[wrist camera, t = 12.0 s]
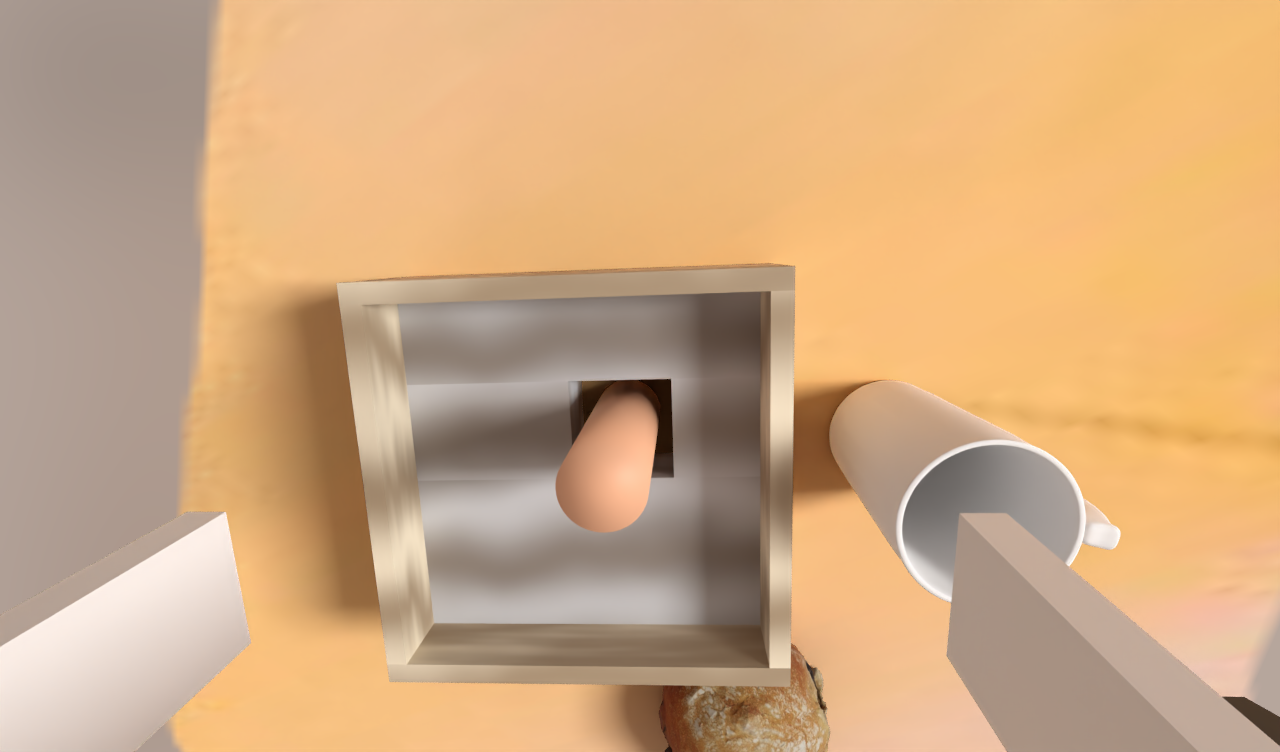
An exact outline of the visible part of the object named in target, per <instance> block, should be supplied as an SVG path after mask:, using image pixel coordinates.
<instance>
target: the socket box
mask: <svg viewBox="0 0 1280 752" xmlns="http://www.w3.org/2000/svg"><path fill="white" fill-rule="evenodd" d="M337 291H338V298H339V306H340V313H341V321H342V328H343V336H344V343H345V351H346V358H347V366H348V373H349V381H350V388H351V396H352V403H353V411H354V418H355V426H356V433H357V441H358V448H359V456H360V463H361V471H362V478H363V486H364V493H365V501H366V508H367V516H368V523H369V531H370V538H371V546H372V553H373V561H374V568H375V576H376V583H377V591H378V599H379V606H380V614H381V621H382V629H383V636H384V644H385V651H386V659H387V666H388V674H389V681H390V682H439V683H521V684H602V685H683V686H765V687H790V680H791V591H792V503H793V414H794V325H795V266H788V265H780V264H771V263H766V264H739V265H712V266H686V267H659V268H632V269H605V270H578V271H551V272H524V273H497V274H470V275H443V276H416V277H401V278H390V279H378V280H366V281H355V282H343V283H337ZM640 379H671V390H672V425H673V453H655V454H654V461H653V468H652V475H651V482H650V489H649V496H648V501H647V504H646V506H645V508H644V511H643V512H642V514H641V515H640V516H639V517H638V519H637V520H636V521H634V522H633V523H632V524H630V525H629V526H627V527H625V528H623V529H621V530H618V531H614V532H606V533H602V532H594V531H590V530H587V529H584V528H582V527H580V526H578V525H577V524H575V523H574V522H573V521H571V520H570V519H569V518H568V517H567V516H566V514H565V513H564V512H563V510H562V508H561V507H560V505H559V502H558V500H557V496H556V490H555V483H556V477H557V473H558V471H559V468H560V466H561V465H562V463H563V461H564V459H565V458H566V456H567V454H568V452H569V451H570V449H571V447H572V445H573V444H574V442H575V440H576V439H577V437H578V435H579V433H580V432H581V430H582V428H583V426H584V413H583V396H582V381H598V380H640Z"/></svg>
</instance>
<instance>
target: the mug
mask: <svg viewBox="0 0 1280 752" xmlns="http://www.w3.org/2000/svg"><path fill="white" fill-rule="evenodd" d="M829 441H830V448H831V451H832V454H833V457H834V459H835V461H836V462H837V464H838V466H839V467H840V469H841V470H842V472H843V474H844V475H845V477H846V479H847V480H848V482H849V484H850V485H851V486H852V488H853V489H854V491H855V492H856V494H857V495H858V497H859V498H860V500H861V501H862V503H863V504H864V506H865V508H866V509H867V511H868V512H869V514H870V515H871V517H872V518H873V520H874V521H875V523H876V524H877V526H878V527H879V529H880V530H881V532H882V534H883V535H884V537H885V538H886V540H887V541H888V543H889V544H890V546H891V547H892V549H893V550H894V551H895V553H896V554H897V555H898V557H899V558H900V559H901V560H902V562H903V564H904V565H905V567H906V569H907V570H908V572H909V573H910V574H911V576H912V577H913V578H914V579H915V580H916V581H917V582H918V583H919V584H920V585H921V586H922V587H923V588H924V589H926V590H927V591H928V592H930V593H931V594H933V595H935V596H936V597H938V598H940V599H942V600H945V601H947V602H950V603H951V601H952V589H953V578H954V567H955V556H956V545H957V533H958V522H959V513H1007V514H1008V515H1009V516H1010V517H1011V518H1013V519H1014V520H1015V521H1016V522H1017V523H1018V524H1020V525H1021V526H1022V527H1023V528H1024V529H1026V530H1027V531H1028V532H1029V533H1030V534H1031V535H1033V536H1034V537H1035V538H1036V539H1037V540H1038V541H1040V542H1041V543H1042V544H1043V545H1044V546H1045V547H1047V548H1048V549H1049V550H1050V551H1051V552H1053V553H1054V554H1055V555H1056V556H1057V557H1058V558H1060V559H1061V560H1062V561H1063V562H1064V563H1065V564H1067V565H1068V566H1070V564H1071V563H1072V562H1073V560H1074V558H1075V557H1076V555H1077V553H1078V551H1079V549H1080V546H1081V544H1082V543H1084V544H1087V545H1090V546H1094V547H1099V548H1103V549H1107V550H1111V549H1114V548H1115V547H1116V545H1117V544H1118V541H1119V538H1120V530H1119V529H1118V528H1117V527H1116V526H1114V525H1112V524H1111V523H1110V522H1109V520H1108V519H1107V517H1106V516H1105V515H1104V514H1103V513H1102V512H1101V511H1100V510H1099V509H1098V508H1096V507H1095V506H1094V505H1093V504H1091V503H1090V502H1088V501H1087V500H1085V499H1084V498H1083V497H1082V494H1081V491H1080V489H1079V487H1078V485H1077V483H1076V481H1075V479H1074V478H1073V476H1072V475H1071V473H1070V472H1069V471H1068V470H1067V469H1066V468H1065V466H1064V465H1063V464H1062V463H1060V462H1059V461H1058V460H1057V459H1056V458H1054V457H1053V456H1052V455H1050V454H1049V453H1047V452H1045V451H1043V450H1042V449H1039V448H1037V447H1035V446H1033V445H1031V444H1029V443H1027V442H1025V441H1024V440H1022V439H1020V438H1018V437H1017V436H1015V435H1013V434H1011V433H1009V432H1007V431H1005V430H1003V429H1001V428H999V427H997V426H995V425H993V424H991V423H989V422H987V421H985V420H983V419H981V418H979V417H977V416H975V415H973V414H971V413H969V412H967V411H965V410H963V409H961V408H959V407H957V406H955V405H953V404H951V403H949V402H947V401H945V400H943V399H941V398H939V397H938V396H936V395H934V394H932V393H929V392H927V391H924V390H922V389H920V388H918V387H916V386H914V385H912V384H909V383H906V382H902V381H896V380H883V381H877V382H872V383H869V384H866V385H864V386H862V387H860V388H858V389H856V390H855V391H853V392H852V393H851V394H850V395H848V396H847V397H846V398H845V399H844V400H843V401H842V403H841V404H840V405H839V407H838V408H837V410H836V412H835V414H834V416H833V418H832V421H831V425H830V431H829Z"/></svg>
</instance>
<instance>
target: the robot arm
mask: <svg viewBox="0 0 1280 752" xmlns="http://www.w3.org/2000/svg"><path fill="white" fill-rule="evenodd" d="M250 643H251V640H250V635H249V630H248V625H247V620H246V614H245V609H244V604H243V599H242V594H241V589H240V583H239V578H238V573H237V568H236V563H235V557H234V552H233V547H232V542H231V537H230V532H229V526H228V521H227V516H226V512H186V513H184V514H182V515H180V516H178V517H177V518H175V519H173V520H171V521H169V522H168V523H166V524H164V525H162V526H160V527H159V528H157V529H155V530H153V531H151V532H149V533H148V534H146V535H144V536H142V537H140V538H139V539H137V540H135V541H133V542H131V543H130V544H128V545H126V546H124V547H122V548H120V549H119V550H117V551H115V552H113V553H111V554H110V555H108V556H106V557H104V558H102V559H101V560H99V561H97V562H95V563H93V564H91V565H90V566H88V567H86V568H84V569H82V570H80V571H79V572H77V573H75V574H73V575H71V576H70V577H68V578H66V579H64V580H62V581H61V582H59V583H57V584H55V585H53V586H52V587H50V588H48V589H46V590H44V591H42V592H41V593H39V594H37V595H35V596H34V597H31V598H30V599H28V600H26V601H24V602H22V603H21V604H19V605H17V606H15V607H13V608H12V609H10V610H8V611H6V612H4V613H3V614H1V615H0V752H135V751H136V750H137V749H138V748H139V747H140V746H141V745H142V744H143V743H144V742H146V741H147V740H148V739H149V738H150V737H151V736H152V735H153V734H154V733H155V732H156V731H157V730H158V729H159V728H160V727H162V726H163V725H164V724H165V723H166V722H167V721H168V720H169V719H170V718H171V717H172V716H173V715H174V714H175V713H177V712H178V711H179V710H180V709H181V708H182V707H183V706H184V705H185V704H186V703H187V702H188V701H189V700H190V699H192V698H193V697H194V696H195V695H196V694H197V693H198V692H199V691H200V690H201V689H202V688H203V687H204V686H205V685H207V684H208V683H209V682H210V681H211V680H212V679H213V678H214V677H215V676H216V675H217V674H218V673H219V672H220V671H221V670H223V669H224V668H225V667H226V666H227V665H228V664H229V663H230V662H231V661H232V660H233V659H234V658H235V657H236V656H238V655H239V654H240V653H241V652H242V651H243V650H244V649H245V648H246V647H247V646H248V645H249V644H250ZM947 657H948V659H949V660H950V662H951V664H952V665H953V667H954V668H955V670H956V672H957V673H958V675H959V676H960V678H961V679H962V681H963V683H964V684H965V686H966V687H967V689H968V691H969V692H970V694H971V695H972V697H973V699H974V700H975V702H976V703H977V705H978V706H979V708H980V710H981V711H982V713H983V714H984V716H985V718H986V719H987V721H988V722H989V724H990V726H991V727H992V729H993V730H994V732H995V733H996V735H997V737H998V738H999V740H1000V741H1001V743H1002V745H1003V746H1004V748H1005V749H1006V751H1007V752H1280V717H1279V716H1277V715H1275V714H1273V713H1272V712H1270V711H1268V710H1266V709H1265V708H1263V707H1261V706H1259V705H1257V704H1256V703H1254V702H1252V701H1250V700H1248V699H1247V698H1245V697H1221V696H1220V695H1219V694H1218V693H1217V692H1216V691H1214V690H1213V689H1212V688H1211V687H1210V686H1209V685H1207V684H1206V683H1205V682H1204V681H1203V680H1201V679H1200V678H1199V677H1198V676H1197V675H1196V674H1194V673H1193V672H1192V671H1191V670H1190V669H1189V668H1187V667H1186V666H1185V665H1184V664H1183V663H1182V662H1180V661H1179V660H1178V659H1177V658H1176V657H1175V656H1173V655H1172V654H1171V653H1170V652H1169V651H1167V650H1166V649H1165V648H1164V647H1163V646H1162V645H1160V644H1159V643H1158V642H1157V641H1156V640H1155V639H1153V638H1152V637H1151V636H1150V635H1149V634H1148V633H1146V632H1145V631H1144V630H1143V629H1142V628H1140V627H1139V626H1138V625H1137V624H1136V623H1135V622H1133V621H1132V620H1131V619H1130V618H1129V617H1128V616H1126V615H1125V614H1124V613H1123V612H1122V611H1121V610H1119V609H1118V608H1117V607H1116V606H1115V605H1114V604H1112V603H1111V602H1110V601H1109V600H1108V599H1106V598H1105V597H1104V596H1103V595H1102V594H1101V593H1099V592H1098V591H1097V590H1096V589H1095V588H1094V587H1092V586H1091V585H1090V584H1089V583H1088V582H1087V581H1085V580H1084V579H1083V578H1082V577H1081V576H1079V575H1078V574H1077V573H1076V572H1075V571H1074V570H1072V569H1071V568H1070V567H1069V566H1068V565H1067V564H1065V563H1064V562H1063V561H1062V560H1061V559H1060V558H1058V557H1057V556H1056V555H1055V554H1054V553H1053V552H1051V551H1050V550H1049V549H1048V548H1047V547H1045V546H1044V545H1043V544H1042V543H1041V542H1040V541H1038V540H1037V539H1036V538H1035V537H1034V536H1033V535H1031V534H1030V533H1029V532H1028V531H1027V530H1026V529H1024V528H1023V527H1022V526H1021V525H1020V524H1018V523H1017V522H1016V521H1015V520H1014V519H1013V518H1011V517H1010V516H1009V515H1008V514H1007V513H959V522H958V533H957V545H956V556H955V567H954V578H953V589H952V601H951V612H950V623H949V634H948V645H947Z"/></svg>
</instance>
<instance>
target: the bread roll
mask: <svg viewBox="0 0 1280 752" xmlns="http://www.w3.org/2000/svg"><path fill="white" fill-rule="evenodd" d="M822 690H823V678H822V675H821V673H820V671H819V670H818V669H817V668H811V667H810V666H809V665H808V663H807V661H806V660H805V658H804V656H803V655H802V654H801V653H800V652H799V651H798V649H797V647H796V646H795V645H793V644H791V680H790V687H765V686H683V685H665V686H664V689H663V701H662V704H661V707H660V711H659V717H660V721H661V728H662V730H663V733H664V735H665V738H666V739H667V742H668V743H669V747H668V748H667V749H666V750H665V752H827V750H828V741H829V736H830V729H829V728H830V727H829V725H828V722H827V718H826V713H827V707H826V702H824V701H823V697H822Z"/></svg>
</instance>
